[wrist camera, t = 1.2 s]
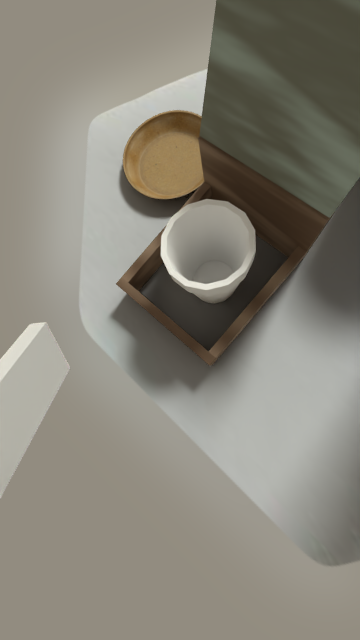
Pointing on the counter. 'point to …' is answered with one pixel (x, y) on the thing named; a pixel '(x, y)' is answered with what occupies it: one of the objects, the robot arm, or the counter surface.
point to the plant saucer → (165, 155)
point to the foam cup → (209, 248)
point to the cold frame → (274, 133)
